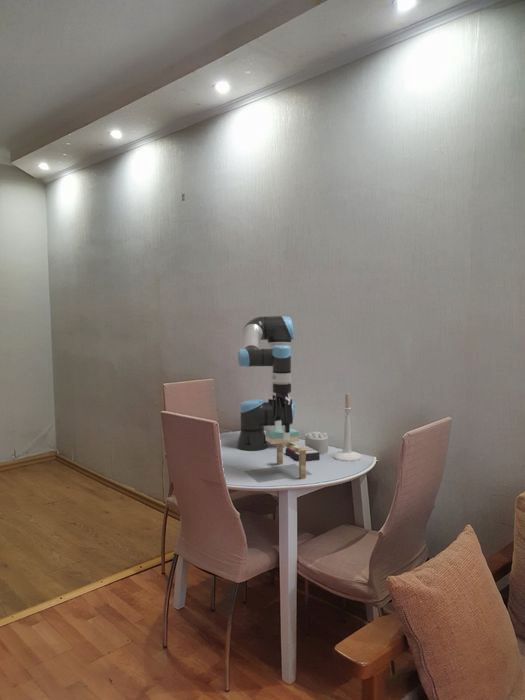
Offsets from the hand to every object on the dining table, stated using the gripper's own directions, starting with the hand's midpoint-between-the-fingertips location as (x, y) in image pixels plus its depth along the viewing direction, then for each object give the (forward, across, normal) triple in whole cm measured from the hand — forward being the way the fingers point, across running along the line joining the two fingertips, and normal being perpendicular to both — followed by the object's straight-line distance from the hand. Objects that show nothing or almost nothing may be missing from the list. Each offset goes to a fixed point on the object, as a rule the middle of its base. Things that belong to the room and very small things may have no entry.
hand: (282, 438), depth 217 cm
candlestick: (+15, -8, +37) cm, 41 cm away
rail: (+15, 0, +4) cm, 15 cm away
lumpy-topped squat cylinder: (+15, -24, +30) cm, 41 cm away
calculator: (+15, -18, +19) cm, 30 cm away
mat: (+15, 0, -2) cm, 15 cm away
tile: (+1, 0, 0) cm, 1 cm away
